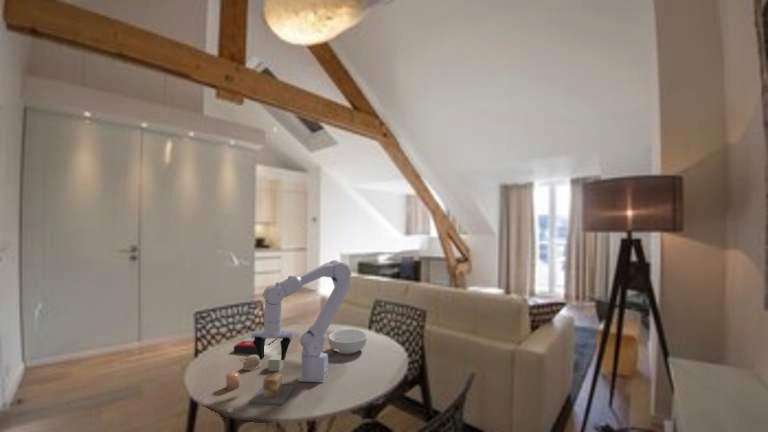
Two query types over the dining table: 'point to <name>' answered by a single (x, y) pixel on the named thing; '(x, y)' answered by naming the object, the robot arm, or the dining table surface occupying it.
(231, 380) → the terracotta cylinder
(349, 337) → the cereal bowl
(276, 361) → the sage block
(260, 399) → the slate mat
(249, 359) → the cream ribbed piece
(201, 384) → the dining table surface
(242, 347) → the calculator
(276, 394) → the oak block
